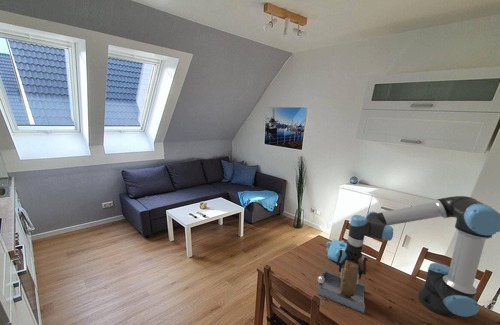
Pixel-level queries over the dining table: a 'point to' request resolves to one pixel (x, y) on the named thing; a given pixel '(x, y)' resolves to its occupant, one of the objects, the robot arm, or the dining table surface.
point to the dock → (331, 290)
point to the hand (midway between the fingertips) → (348, 279)
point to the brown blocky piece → (349, 277)
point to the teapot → (336, 250)
